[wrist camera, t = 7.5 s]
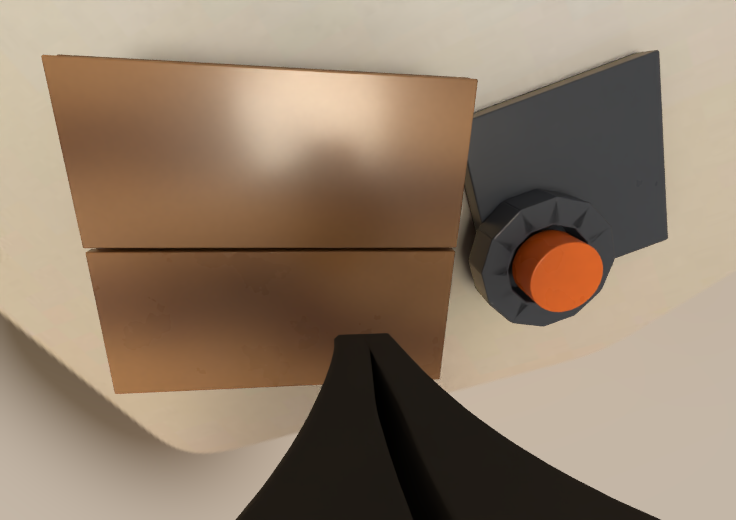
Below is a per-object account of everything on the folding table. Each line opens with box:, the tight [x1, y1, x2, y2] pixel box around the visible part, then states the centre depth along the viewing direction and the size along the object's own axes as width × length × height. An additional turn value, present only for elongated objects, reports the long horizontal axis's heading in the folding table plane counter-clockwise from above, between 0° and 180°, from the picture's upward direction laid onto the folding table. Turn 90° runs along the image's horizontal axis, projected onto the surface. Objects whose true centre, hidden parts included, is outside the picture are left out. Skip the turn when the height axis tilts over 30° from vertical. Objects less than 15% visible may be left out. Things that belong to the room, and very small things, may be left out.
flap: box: [86, 248, 455, 394], centre depth 14 cm, size 5×12×1 cm, turn 87°
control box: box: [464, 50, 668, 326], centre depth 19 cm, size 10×10×3 cm
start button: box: [512, 230, 603, 312], centre depth 18 cm, size 3×3×2 cm
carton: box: [42, 55, 478, 249], centre depth 16 cm, size 11×12×6 cm
